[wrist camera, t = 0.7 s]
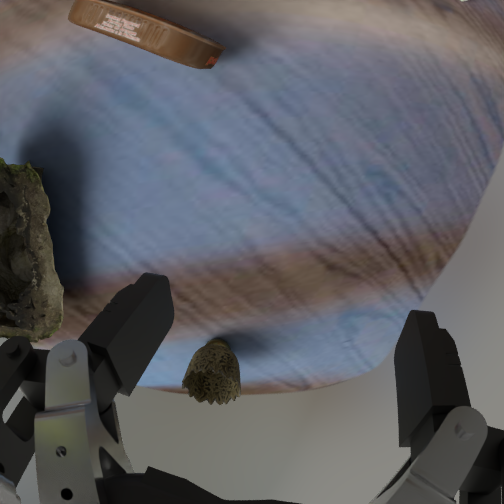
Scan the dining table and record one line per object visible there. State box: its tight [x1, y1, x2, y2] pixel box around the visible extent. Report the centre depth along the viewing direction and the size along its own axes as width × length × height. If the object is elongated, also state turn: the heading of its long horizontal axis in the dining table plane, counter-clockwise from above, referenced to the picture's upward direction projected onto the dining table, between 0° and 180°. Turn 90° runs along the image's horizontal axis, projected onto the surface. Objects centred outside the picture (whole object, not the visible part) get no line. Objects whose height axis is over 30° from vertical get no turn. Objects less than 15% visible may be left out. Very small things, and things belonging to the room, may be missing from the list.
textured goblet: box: [182, 339, 241, 405], centre depth 40 cm, size 8×7×8 cm
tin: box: [68, 0, 226, 69], centre depth 20 cm, size 15×3×8 cm, turn 59°
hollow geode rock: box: [0, 157, 64, 342], centre depth 30 cm, size 28×13×15 cm
